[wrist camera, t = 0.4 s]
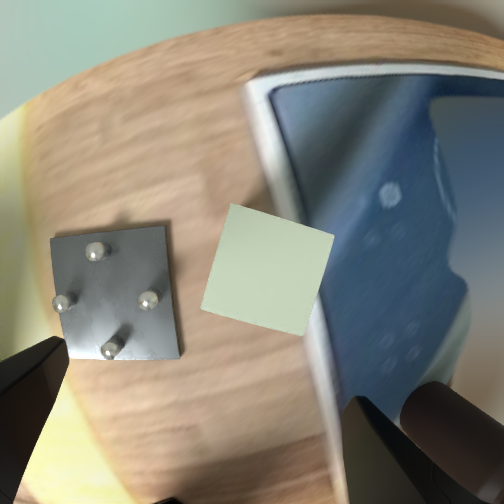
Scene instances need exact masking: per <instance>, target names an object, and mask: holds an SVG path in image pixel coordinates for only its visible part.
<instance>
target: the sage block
mask: <svg viewBox="0 0 504 504" xmlns="http://www.w3.org/2000/svg"><path fill="white" fill-rule="evenodd" d="M334 236H335V235H332V234H329V233H326V232H323V231H320V230H317V229H314V228H311V227H308V226H305V225H301V224H298V223H295V222H292V221H289V220H286V219H283V218H279V217H276V216H273V215H270V214H266V213H263V212H260V211H257V210H253V209H250V208H247V207H243V206H240V205H237V204H233V203H231V205H230V208H229V211H228V215H227V218H226V221H225V225H224V228H223V231H222V235H221V238H220V242H219V245H218V248H217V252H216V255H215V259H214V262H213V266H212V269H211V273H210V276H209V280H208V283H207V287H206V290H205V294H204V298H203V301H202V305H201V308H200V309H201V310H204V311H208V312H211V313H215V314H218V315H222V316H225V317H229V318H233V319H236V320H240V321H244V322H247V323H251V324H255V325H259V326H263V327H267V328H270V329H274V330H278V331H283V332H287V333H291V334H295V335H299V336H303V335H304V332H305V329H306V326H307V323H308V320H309V317H310V314H311V311H312V308H313V305H314V302H315V299H316V296H317V293H318V290H319V287H320V283H321V280H322V277H323V274H324V270H325V267H326V264H327V260H328V257H329V254H330V250H331V247H332V243H333V240H334Z"/></svg>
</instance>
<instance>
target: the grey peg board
mask: <svg viewBox="0 0 504 504" xmlns="http://www.w3.org/2000/svg"><path fill="white" fill-rule="evenodd" d="M50 245H51V257H52V267H53V276H54V283H55V291H56V297H55V298H54V299H53V302H52V304H53V308H54V309H55V311H56V312H58V313H59V315H60V320H61V326H62V330H63V335H64V340H65V341H66V343H67V348H68V354H69V358H81V359H107V360H169V359H180V357H181V355H180V348H179V342H178V335H177V328H176V320H175V313H174V305H173V297H172V288H171V279H170V269H169V258H168V247H167V235H166V226H156V227H146V228H136V229H127V230H118V231H109V232H100V233H92V234H83V235H75V236H67V237H59V238H52V239H50Z"/></svg>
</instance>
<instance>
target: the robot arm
mask: <svg viewBox="0 0 504 504" xmlns="http://www.w3.org/2000/svg"><path fill="white" fill-rule="evenodd" d="M68 365H69V354H68V348H67V343H66V341H65V340H64V339H62V338H60V337H57V336H52V337H50V338H48V339H46V340H44V341H42V342H40V343H38V344H36V345H33V346H31V347H29V348H27V349H25V350H23V351H21V352H19V353H17V354H15V355H13V356H11V357H9V358H7V359H5V360H3V361H1V362H0V504H13V501H14V499H15V496H16V493H17V491H18V488H19V485H20V482H21V480H22V477H23V474H24V472H25V469H26V467H27V464H28V462H29V459H30V457H31V454H32V452H33V450H34V447H35V445H36V443H37V440H38V438H39V436H40V434H41V431H42V429H43V427H44V425H45V423H46V420H47V418H48V416H49V414H50V412H51V410H52V408H53V406H54V403H55V401H56V398H57V395H58V392H59V390H60V387H61V384H62V381H63V379H64V376H65V373H66V371H67V368H68ZM341 423H342V444H343V459H344V466H345V472H346V479H347V486H348V493H349V500H350V504H492V503H488V502H485V501H483V500H481V499H480V498H478V497H477V496H476V495H474V494H473V493H471V492H470V491H469V490H467V489H466V488H465V487H463V486H462V485H461V484H459V483H458V482H457V481H455V480H454V479H453V478H452V477H450V476H449V475H448V474H447V473H446V472H445V471H444V470H442V469H441V468H440V467H439V466H438V465H437V464H436V463H435V462H433V461H432V460H431V459H430V458H429V457H428V456H427V455H426V454H425V453H424V452H423V451H422V450H421V449H420V448H419V447H418V446H417V445H416V444H415V443H413V442H412V441H411V440H410V439H409V438H408V437H407V436H406V435H405V434H404V433H403V432H402V431H401V430H400V429H399V428H398V427H397V426H396V425H395V424H394V423H393V422H392V421H391V420H389V419H388V418H387V417H386V416H385V415H384V414H383V413H382V412H381V411H380V410H379V409H378V408H377V407H376V406H375V405H374V404H373V403H372V402H371V401H370V400H369V399H368V398H367V397H365V396H353V397H352V398H351V399H350V401H349V402H348V404H347V405H346V407H345V408H344V410H343V412H342V415H341ZM156 504H182V503H181V502H179V501H178V500H176V499H174V498H170V499H167V500H164V501H162V502H159V503H156Z"/></svg>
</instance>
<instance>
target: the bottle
mask: <svg viewBox="0 0 504 504" xmlns="http://www.w3.org/2000/svg"><path fill="white" fill-rule="evenodd" d="M400 424H401V426H402V428H403V430H404V431H405V432H406V433H407V434H408V435H409V437H410V438H411V439H412V440H413V441H414V442H415V443H416V444H417V445H418V447H419V448H420V449H421V450H422V451H423V452H424V453H425V454H426V455H427V456H428V457H429V458H430V459H431V460H432V461H433V462H435V463H436V464H437V465H438V466H439V467H440V468H441V469H442V470H444V471H445V472H446V473H447V474H448V475H449V476H450V477H452V478H453V479H454V480H455V481H457V482H458V483H459V484H461V485H462V486H463V487H465V488H466V489H467V490H469V491H470V492H471V493H473V494H474V495H476V496H477V497H478V498H480V499H481V500H483V501H485V502H488V503H492V504H504V426H503V425H502V424H500V423H499V422H497V421H496V420H495V419H493V418H492V417H490V416H489V415H487V414H486V413H485V412H483V411H482V410H480V409H479V408H477V407H476V406H475V405H473V404H472V403H470V402H469V401H467V400H466V399H465V398H463V397H462V396H460V395H459V394H457V393H456V392H454V391H453V390H452V389H450V388H449V387H447V386H446V385H445V384H443V383H440V382H430V383H427V384H425V385H423V386H422V387H420V388H419V389H418V390H416V391H415V392H414V393H413V394H412V395H411V396H410V398H409V399H408V400H407V401H406V403H405V405H404V407H403V408H402V412H401V415H400Z"/></svg>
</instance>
